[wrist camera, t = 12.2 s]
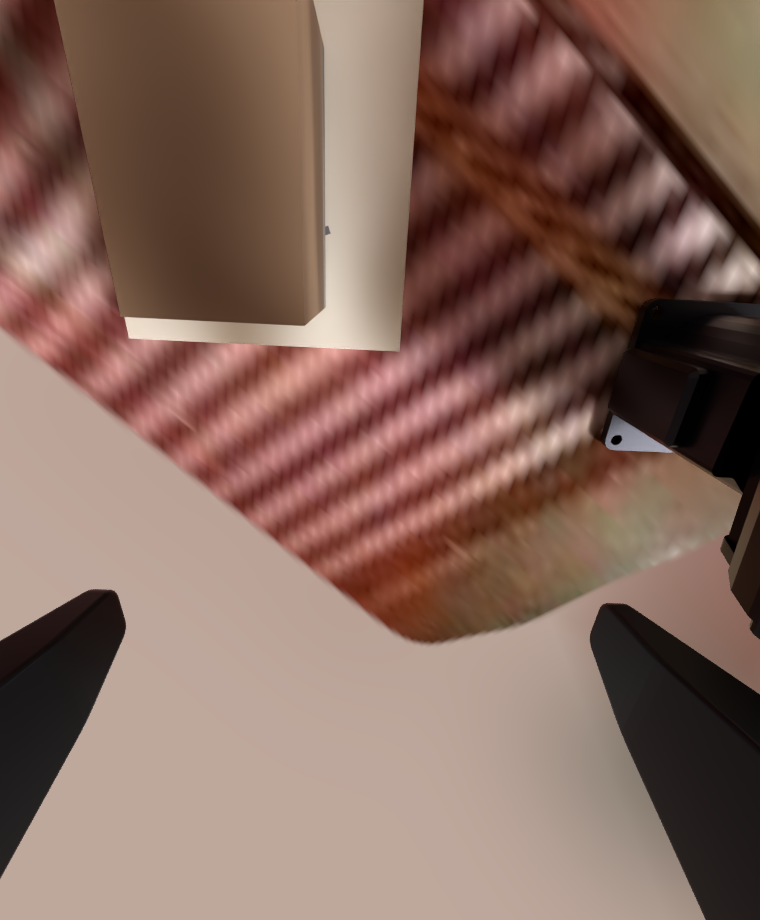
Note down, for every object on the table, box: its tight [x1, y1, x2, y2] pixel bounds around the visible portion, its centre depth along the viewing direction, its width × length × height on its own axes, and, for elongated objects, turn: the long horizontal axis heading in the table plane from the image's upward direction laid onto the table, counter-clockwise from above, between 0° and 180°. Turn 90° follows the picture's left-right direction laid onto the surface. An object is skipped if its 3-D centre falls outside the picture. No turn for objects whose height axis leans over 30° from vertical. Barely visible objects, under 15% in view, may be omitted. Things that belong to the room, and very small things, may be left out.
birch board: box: [125, 0, 424, 351], centre depth 14 cm, size 10×10×2 cm
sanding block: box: [54, 0, 326, 326], centre depth 11 cm, size 4×7×5 cm, turn 177°
